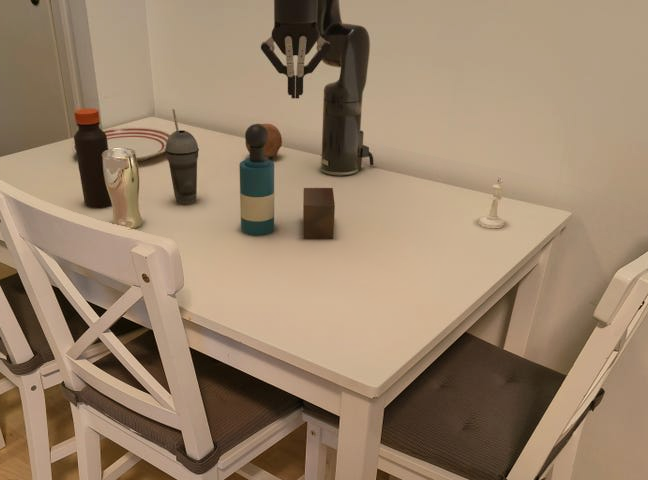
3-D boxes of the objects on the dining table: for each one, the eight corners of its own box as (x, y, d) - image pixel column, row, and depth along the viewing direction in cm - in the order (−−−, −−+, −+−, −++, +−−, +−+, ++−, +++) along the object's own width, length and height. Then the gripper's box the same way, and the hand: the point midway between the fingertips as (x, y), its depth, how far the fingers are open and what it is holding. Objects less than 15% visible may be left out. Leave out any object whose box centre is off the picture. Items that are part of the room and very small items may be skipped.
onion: (252, 171, 181) (234, 139, 175) (260, 152, 187) (243, 120, 181) (284, 161, 177) (267, 128, 170) (291, 142, 183) (275, 109, 176)
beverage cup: (196, 208, 151) (190, 114, 140) (165, 206, 152) (156, 112, 141) (206, 196, 157) (200, 106, 146) (175, 194, 158) (167, 104, 147)
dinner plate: (169, 169, 174) (167, 156, 172) (61, 169, 174) (59, 156, 172) (182, 138, 196) (181, 126, 195) (87, 139, 197) (85, 127, 195)
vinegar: (120, 204, 153) (107, 112, 142) (90, 210, 150) (75, 116, 139) (109, 195, 158) (96, 105, 147) (80, 201, 155) (65, 109, 144)
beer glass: (112, 218, 146) (102, 147, 138) (145, 217, 147) (137, 146, 138) (109, 231, 140) (98, 158, 132) (143, 230, 141) (134, 157, 133)
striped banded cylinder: (252, 250, 140) (190, 179, 133) (256, 236, 146) (196, 168, 138) (318, 202, 133) (255, 124, 126) (319, 189, 139) (259, 114, 131)
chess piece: (490, 230, 139) (499, 182, 134) (474, 222, 143) (481, 175, 138) (508, 225, 141) (518, 178, 136) (492, 217, 145) (500, 171, 139)
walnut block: (303, 238, 136) (303, 205, 133) (302, 219, 145) (303, 187, 141) (333, 239, 136) (334, 205, 132) (331, 220, 145) (332, 187, 141)
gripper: (333, -11, 120) (330, 92, 129) (258, -11, 120) (260, 93, 130) (335, -7, 114) (331, 102, 123) (256, -6, 114) (258, 102, 124)
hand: (295, 97), depth 127 cm, fingers closed
